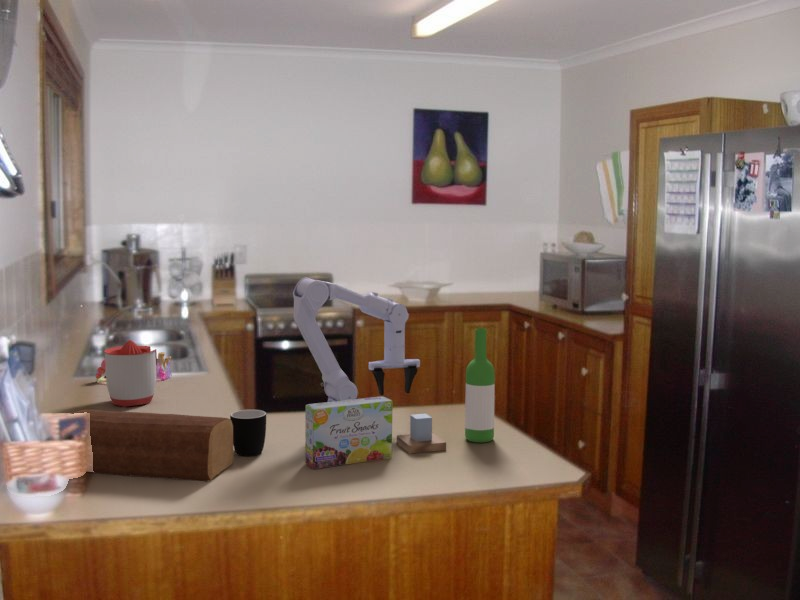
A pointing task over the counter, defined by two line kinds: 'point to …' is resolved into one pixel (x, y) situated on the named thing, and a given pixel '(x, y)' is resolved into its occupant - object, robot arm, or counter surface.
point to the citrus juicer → (131, 374)
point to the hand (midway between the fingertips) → (394, 393)
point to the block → (421, 427)
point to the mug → (248, 431)
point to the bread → (160, 444)
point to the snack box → (348, 431)
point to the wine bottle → (479, 393)
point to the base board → (421, 444)
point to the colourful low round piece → (161, 370)
